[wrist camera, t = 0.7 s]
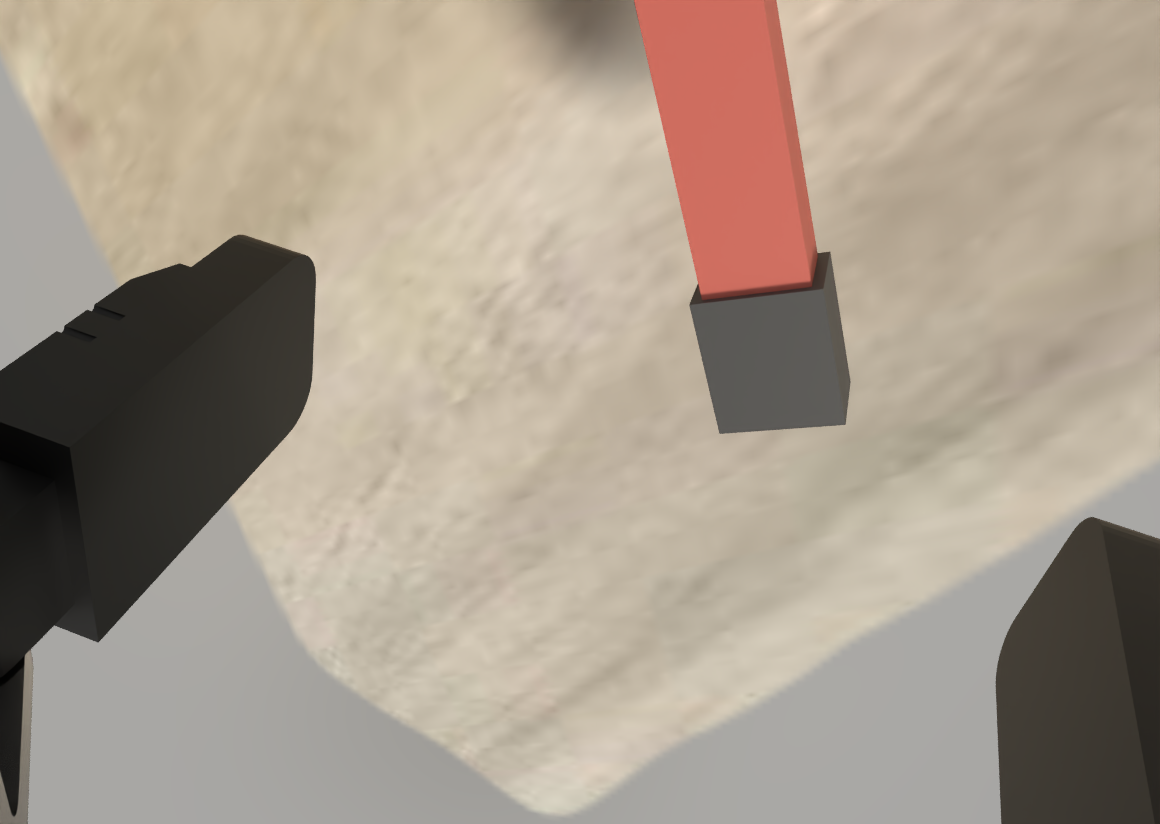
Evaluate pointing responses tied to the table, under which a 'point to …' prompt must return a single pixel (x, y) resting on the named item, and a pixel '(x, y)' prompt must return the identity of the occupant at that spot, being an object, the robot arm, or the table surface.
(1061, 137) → the table surface
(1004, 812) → the robot arm
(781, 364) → the lever
